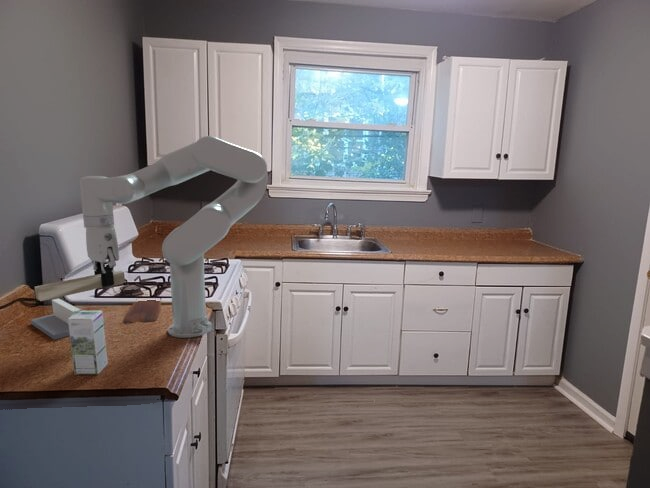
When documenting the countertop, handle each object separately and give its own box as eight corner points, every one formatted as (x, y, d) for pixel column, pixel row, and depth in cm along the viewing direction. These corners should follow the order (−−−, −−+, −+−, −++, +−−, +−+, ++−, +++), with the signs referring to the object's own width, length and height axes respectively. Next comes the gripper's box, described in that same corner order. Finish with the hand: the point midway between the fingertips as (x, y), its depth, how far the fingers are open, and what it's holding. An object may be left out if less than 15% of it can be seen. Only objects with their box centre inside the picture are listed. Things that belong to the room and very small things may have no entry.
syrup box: (108, 363, 111) (103, 309, 108) (97, 375, 105) (91, 317, 102) (85, 364, 111) (79, 309, 108) (73, 375, 105) (66, 318, 102)
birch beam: (125, 282, 129) (124, 272, 128) (40, 301, 112) (39, 289, 112) (119, 280, 131) (118, 270, 130) (36, 298, 114) (34, 286, 114)
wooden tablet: (157, 323, 139) (157, 318, 139) (123, 326, 137) (122, 321, 136) (164, 297, 165) (164, 292, 164) (135, 299, 162) (135, 294, 162)
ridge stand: (104, 325, 135) (102, 305, 134) (54, 339, 125) (51, 318, 123) (79, 312, 147) (77, 293, 145) (31, 324, 136) (28, 304, 135)
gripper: (126, 222, 120) (132, 287, 124) (99, 216, 130) (104, 276, 134) (98, 225, 115) (105, 293, 118) (71, 219, 125) (78, 282, 128)
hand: (104, 284), depth 126 cm, fingers closed on birch beam, 3 cm apart
